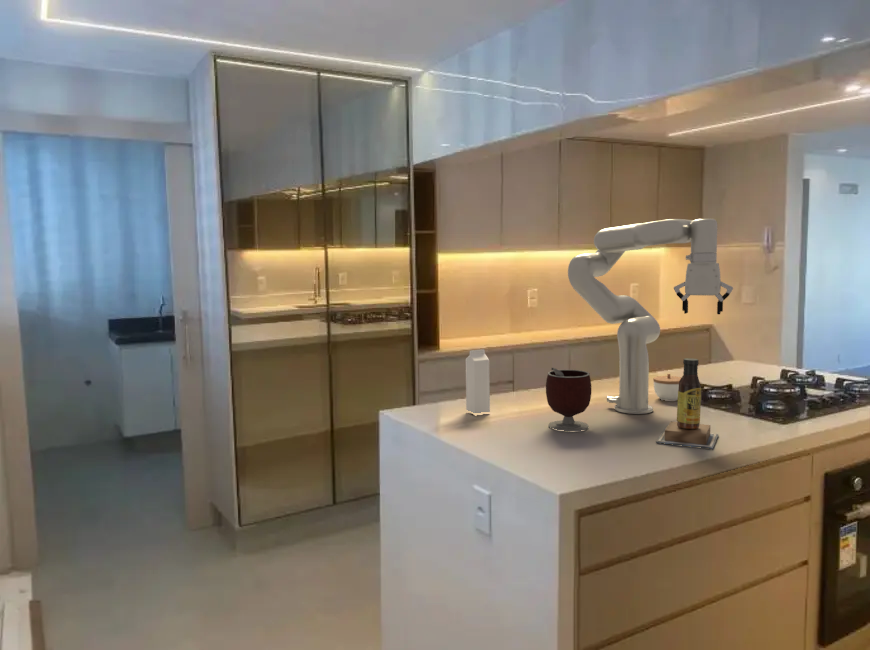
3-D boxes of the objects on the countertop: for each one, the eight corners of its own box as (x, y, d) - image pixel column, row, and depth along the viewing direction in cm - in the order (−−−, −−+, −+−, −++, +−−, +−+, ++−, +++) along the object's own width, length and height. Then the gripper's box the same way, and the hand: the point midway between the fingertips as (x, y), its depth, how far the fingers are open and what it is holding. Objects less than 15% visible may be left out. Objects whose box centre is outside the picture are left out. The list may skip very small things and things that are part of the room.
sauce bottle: (688, 431, 191) (690, 361, 189) (671, 426, 197) (673, 358, 195) (705, 428, 194) (707, 359, 192) (688, 423, 200) (689, 356, 197)
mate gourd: (562, 419, 222) (562, 358, 220) (599, 426, 212) (600, 363, 210) (533, 428, 211) (533, 365, 209) (571, 436, 201) (571, 370, 199)
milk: (466, 413, 234) (464, 349, 231) (481, 410, 236) (480, 348, 234) (475, 416, 228) (473, 351, 226) (490, 414, 231) (489, 350, 229)
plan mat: (655, 443, 193) (656, 431, 192) (664, 430, 206) (665, 419, 205) (712, 449, 186) (713, 436, 185) (718, 436, 199) (718, 424, 198)
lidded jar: (687, 398, 250) (687, 372, 249) (680, 403, 241) (680, 377, 240) (657, 395, 255) (657, 370, 254) (649, 400, 246) (649, 375, 245)
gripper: (672, 259, 212) (671, 314, 214) (732, 258, 204) (731, 315, 206) (676, 259, 219) (675, 311, 221) (734, 258, 211) (733, 313, 213)
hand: (702, 313), depth 213 cm, fingers open, 9 cm apart
